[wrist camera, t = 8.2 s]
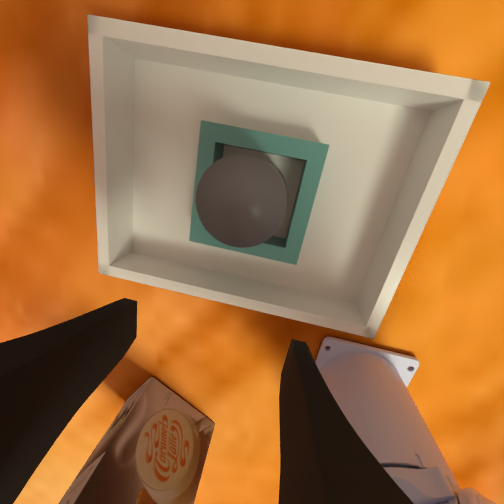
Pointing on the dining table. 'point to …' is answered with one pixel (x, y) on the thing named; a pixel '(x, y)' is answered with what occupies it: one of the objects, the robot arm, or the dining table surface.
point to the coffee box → (146, 453)
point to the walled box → (276, 152)
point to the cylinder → (241, 200)
